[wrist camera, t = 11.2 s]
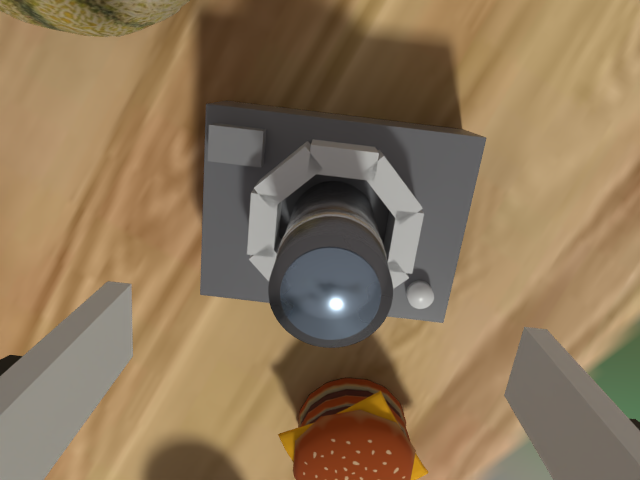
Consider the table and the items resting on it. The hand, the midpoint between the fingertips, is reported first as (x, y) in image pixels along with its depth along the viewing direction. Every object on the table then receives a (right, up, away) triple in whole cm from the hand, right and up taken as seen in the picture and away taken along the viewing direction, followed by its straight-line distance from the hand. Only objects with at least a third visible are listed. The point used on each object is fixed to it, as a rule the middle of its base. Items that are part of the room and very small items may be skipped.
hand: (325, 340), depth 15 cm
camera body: (+1, +6, +17) cm, 18 cm away
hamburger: (+3, -12, +24) cm, 27 cm away
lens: (+1, +5, +12) cm, 13 cm away
